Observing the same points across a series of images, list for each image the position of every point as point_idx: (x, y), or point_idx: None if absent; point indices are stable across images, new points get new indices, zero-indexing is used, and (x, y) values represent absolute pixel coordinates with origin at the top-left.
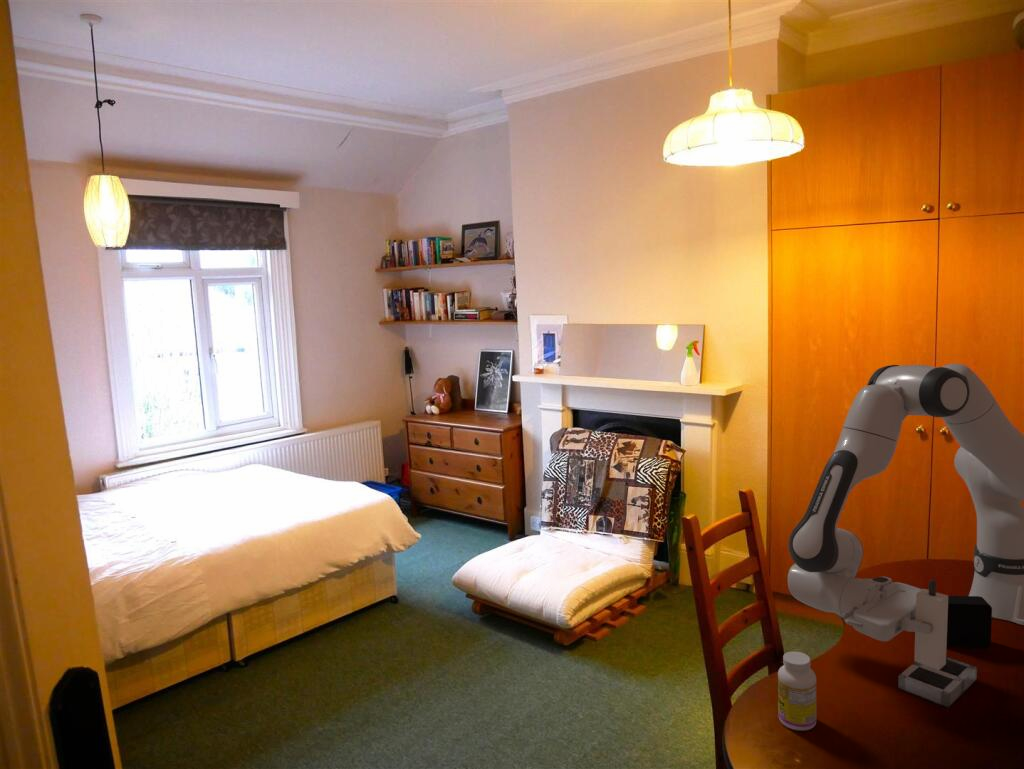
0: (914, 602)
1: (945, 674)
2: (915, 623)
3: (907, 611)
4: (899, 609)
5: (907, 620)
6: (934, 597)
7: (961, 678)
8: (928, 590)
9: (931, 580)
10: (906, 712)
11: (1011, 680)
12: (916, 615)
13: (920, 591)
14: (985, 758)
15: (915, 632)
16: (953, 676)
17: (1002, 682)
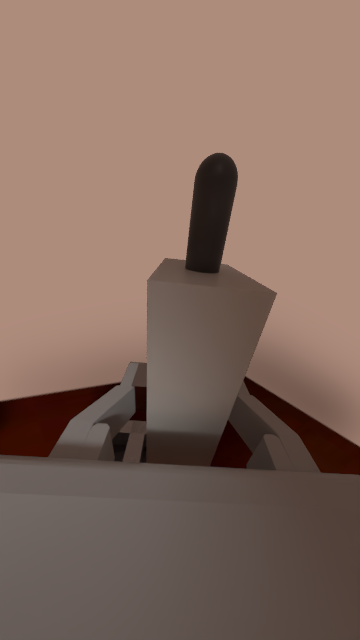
0: (48, 492)
1: (133, 455)
2: (264, 408)
3: (238, 470)
4: (292, 554)
5: (294, 440)
6: (223, 268)
7: (133, 425)
8: (159, 272)
9: (230, 158)
10: None
11: (65, 394)
12: (228, 410)
13: (216, 285)
14: (248, 380)
15: (210, 459)
16: (133, 439)
17: (76, 401)
